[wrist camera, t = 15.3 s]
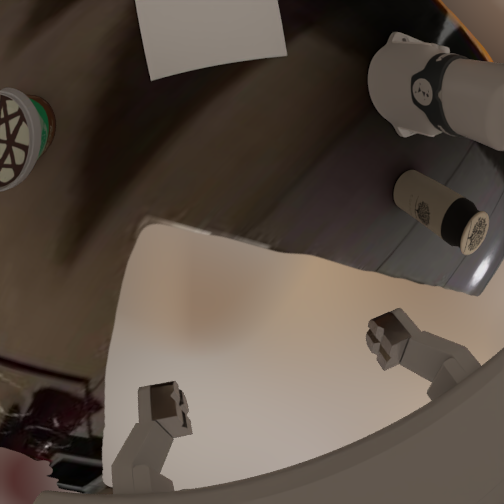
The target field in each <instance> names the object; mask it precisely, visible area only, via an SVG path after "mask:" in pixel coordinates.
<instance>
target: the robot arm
mask: <svg viewBox="0 0 504 504" xmlns="http://www.w3.org/2000/svg"><path fill="white" fill-rule="evenodd" d="M402 39H403V40H402ZM368 88H369V93H370V97H371V100H372V102H373V104H374V106H375V108H376V109H377V111H378V112H379V113H380V114H381V116H382V117H384V118H385V119H386V120H387V121H389V122H390V123H391V124H392V125H393V126H394V128H395V130H396V132H397V134H398V135H399V136H401V137H409V136H411V135H414V134H417V133H419V134H423V135H426V136H430V137H434V136H435V135H438V134H440V133H442V132H445V133H446V134H448V135H451V136H457V137H461V138H464V137H467V138H470V139H472V140H475V141H477V142H480V143H482V144H484V145H487V146H489V147H491V148H494V149H496V150H499V151H504V64H501V63H493V62H485V61H477V60H469V59H468V58H466V57H464V56H461V55H458V54H453V53H450V49H449V48H448V47H445V46H438V45H437V44H434V43H424V42H422V41H420V40H417V39H415V38H413V37H410V36H408V35H405V34H403V33H400V32H393V33H392V34H391V35H390V37H389V39H388V42H387V44H386V45H385V46H383V47H382V48H381V49H380V50H379V51H378V52H377V53H376V54H375V55H374V57H373V59H372V61H371V63H370V66H369V71H368ZM368 327H369V328H370V329H369V331H368V332H367V334H366V341H367V345H368V347H369V349H370V351H371V352H372V353H374V354H376V355H377V361H378V363H379V364H380V366H381V367H382V369H383V370H384V371H385V370H387V369H389V368H391V367H394V366H396V365H398V364H400V365H402V366H403V367H405V368H407V369H409V370H411V371H413V372H414V373H416V374H418V375H420V376H421V377H423V378H425V379H427V380H429V381H430V382H432V384H431V385H430V387H429V389H428V391H427V394H428V396H429V397H430V399H431V400H432V401H431V402H429V403H428V404H426V405H424V406H423V407H421V408H419V409H418V410H416V411H414V412H413V413H411V414H409V415H408V416H405V417H404V418H402V419H400V420H398V421H397V422H394V423H393V424H391V425H389V426H387V427H385V428H383V429H381V430H379V431H377V432H375V433H373V434H371V435H369V436H367V437H365V438H363V439H360V440H358V441H356V442H353V443H351V444H349V445H346V446H344V447H342V448H339V449H337V450H334V451H332V452H329V453H327V454H324V455H322V456H319V457H316V458H314V459H311V460H308V461H305V462H302V463H299V464H296V465H293V466H290V467H287V468H283V469H280V470H277V471H273V472H270V473H266V474H263V475H259V476H255V477H251V478H247V479H243V480H238V481H233V482H229V483H224V484H219V485H213V486H208V487H202V488H195V489H188V490H180V491H174V487H173V482H172V481H171V480H170V479H168V478H166V477H165V476H163V475H161V474H160V472H161V469H162V467H163V464H164V462H165V459H166V457H167V454H168V452H169V449H170V447H171V444H172V442H173V438H176V437H181V436H186V435H191V434H193V433H192V428H191V421H190V419H189V418H188V417H187V413H188V411H189V409H188V404H187V401H186V398H185V395H184V393H183V392H182V391H181V390H179V388H178V384H177V383H176V381H171V382H166V383H161V384H155V385H149V386H144V387H139V390H138V410H139V423H136V424H135V426H134V428H133V429H132V431H131V433H130V435H129V436H128V438H127V440H126V441H125V443H124V445H123V447H122V449H121V450H120V452H119V454H118V455H117V457H116V459H115V461H114V462H113V464H112V483H113V495H107V494H81V493H68V492H58V491H43V492H41V493H40V494H39V496H38V497H37V498H36V500H35V501H34V503H33V504H504V348H503V349H502V350H500V351H499V352H498V353H497V354H496V355H495V356H493V357H492V358H491V359H490V360H488V361H487V362H486V363H485V364H483V365H482V366H481V365H480V363H479V362H478V361H477V360H476V359H475V357H474V356H473V355H472V354H471V353H470V351H469V350H468V349H467V348H466V347H465V346H462V345H460V344H457V343H454V342H452V341H449V340H446V339H444V338H441V337H439V336H436V335H434V334H431V333H429V332H426V331H422V332H421V331H420V330H419V328H418V327H417V326H416V325H415V324H414V323H413V321H412V320H411V319H410V318H409V317H408V315H407V314H406V313H405V312H404V311H403V310H402V309H401V308H397V309H395V310H393V311H391V312H388V313H385V314H383V315H381V316H378V317H376V318H374V319H371V320H370V321H369V323H368Z"/></svg>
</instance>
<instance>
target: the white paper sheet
mask: <svg viewBox="0 0 504 504" xmlns="http://www.w3.org/2000/svg"><path fill="white" fill-rule="evenodd" d="M135 3H136V8H137V14H138V20H139V25H140V30H141V35H142V41H143V46H144V51H145V55H146V60H147V65H148V70H149V74H150V79H151V81H152V80H156V79H159V78H163V77H167V76H171V75H175V74H179V73H183V72H187V71H191V70H196V69H201V68H206V67H211V66H216V65H221V64H227V63H233V62H239V61H246V60H254V59H262V58H270V57H281V56H287V51H286V45H285V39H284V33H283V28H282V22H281V17H280V11H279V6H278V1H277V0H135Z"/></svg>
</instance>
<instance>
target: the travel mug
mask: <svg viewBox="0 0 504 504" xmlns="http://www.w3.org/2000/svg"><path fill="white" fill-rule="evenodd" d="M393 196H394V201H395V203H396V205H397V206H398V207H399V208H401V209H402V210H404V211H405V212H407V213H408V214H409V215H411V216H412V217H414V218H415V219H416V220H418V221H419V222H421V223H422V224H423V225H425V226H426V227H427V228H429V229H430V230H431V231H433V232H434V233H435V234H437V235H438V236H439V237H441V238H442V239H443V240H444V241H446V242H447V243H448V244H450V245H451V246H459V247H460V249H461V251H462V253H463V254H465V255H469V254H471V253H473V252H474V251H475V250H476V249H477V248H478V247H479V246H480V245H481V243H482V242H483V240H484V238H485V236H486V233H487V230H488V226H489V217H488V215H487V213H486V212H484V211H478V210H477V208H476V206H475V205H474V203H473V202H471V201H469V200H468V199H466V198H465V197H463V196H461V195H459V194H458V193H456V192H454V191H453V190H451V189H449V188H447V187H446V186H444V185H442V184H440V183H438V182H437V181H435V180H433V179H431V178H429V177H427V176H425V175H423V174H422V173H420V172H418V171H416V170H409V171H406V172H405V173H403V174H402V175H401V176H400V177H399V179H398V180H397V182H396V184H395V187H394V193H393Z"/></svg>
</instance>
